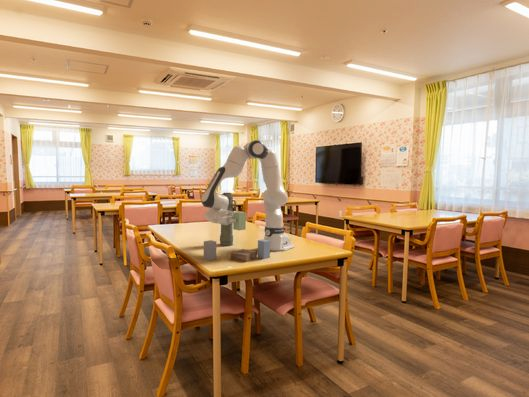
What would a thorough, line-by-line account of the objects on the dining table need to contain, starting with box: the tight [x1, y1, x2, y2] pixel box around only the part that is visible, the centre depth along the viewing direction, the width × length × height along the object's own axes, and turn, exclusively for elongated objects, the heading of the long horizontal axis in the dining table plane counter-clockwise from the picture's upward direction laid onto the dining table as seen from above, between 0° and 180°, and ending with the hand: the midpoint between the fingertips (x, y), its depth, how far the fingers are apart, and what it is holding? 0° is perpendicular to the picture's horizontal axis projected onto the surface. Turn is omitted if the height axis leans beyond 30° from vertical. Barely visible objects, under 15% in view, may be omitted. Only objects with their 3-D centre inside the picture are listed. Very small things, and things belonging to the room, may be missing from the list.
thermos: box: [219, 192, 237, 247], centre depth 232 cm, size 9×12×35 cm
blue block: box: [257, 238, 271, 260], centre depth 200 cm, size 5×5×10 cm
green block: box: [233, 210, 247, 231], centre depth 199 cm, size 5×5×10 cm
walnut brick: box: [230, 248, 258, 263], centre depth 197 cm, size 12×10×4 cm
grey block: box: [203, 239, 217, 261], centre depth 194 cm, size 5×5×10 cm
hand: (240, 220), depth 198 cm, fingers closed on green block, 5 cm apart
